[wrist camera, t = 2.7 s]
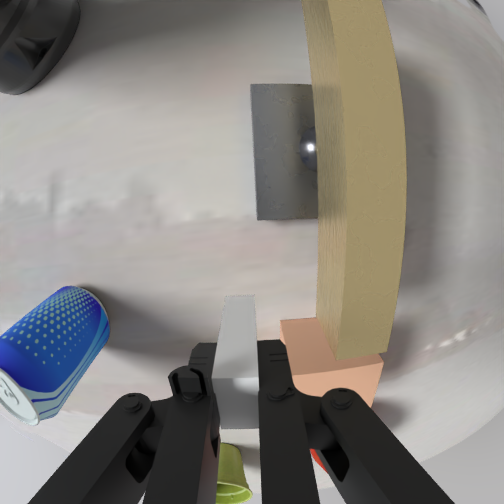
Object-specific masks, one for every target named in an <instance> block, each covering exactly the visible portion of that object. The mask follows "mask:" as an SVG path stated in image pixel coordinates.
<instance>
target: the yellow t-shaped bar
mask: <svg viewBox="0 0 504 504" xmlns="http://www.w3.org/2000/svg"><path fill="white" fill-rule="evenodd" d="M301 1H302V8H303V14H304V21H305V28H306V35H307V42H308V51H309V59H310V68H311V78H312V89H313V101H314V114H315V129H316V144H315V153H316V155H317V172H318V277H317V302H316V317H317V319H318V321H319V323H320V326H321V328H322V330H323V332H324V335H325V337H326V339H327V341H328V344H329V346H330V348H331V350H332V353H333V355H334V357H335V360H342V359H348V358H355V357H361V356H367V355H373V354H378V353H384V352H387V348H388V344H389V339H390V335H391V330H392V325H393V320H394V314H395V309H396V303H397V297H398V290H399V283H400V276H401V268H402V259H403V248H404V237H405V221H406V195H407V167H406V141H405V126H404V115H403V105H402V96H401V89H400V82H399V75H398V69H397V63H396V58H395V53H394V48H393V43H392V39H391V34H390V30H389V26H388V22H387V18H386V15H385V11H384V8H383V4H382V1H381V0H301Z"/></svg>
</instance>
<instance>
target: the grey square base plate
mask: <svg viewBox="0 0 504 504" xmlns="http://www.w3.org/2000/svg"><path fill="white" fill-rule="evenodd" d="M250 93H251V112H252V131H253V150H254V170H255V191H256V212H257V220H277V219H302V218H318V172H317V155H316V153H315V144H316V129H315V114H314V101H313V89H312V85H308V84H251V88H250Z"/></svg>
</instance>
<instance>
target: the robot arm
mask: <svg viewBox="0 0 504 504" xmlns="http://www.w3.org/2000/svg"><path fill="white" fill-rule="evenodd" d="M79 17H80V8H79V4H78V2H77V1H76V0H0V92H1V93H5V94H10V95H16V94H20V93H23V92H25V91H27V90H29V89H30V88H32V87H33V86H35V85H36V84H37V83H38V82H39V81H41V80H42V79H43V78H44V77H45V76H46V75H47V74H48V73H49V71H50V70H51V69H52V68H53V67H54V66H55V64H56V63H57V62H58V60H59V59H60V58H61V56H62V55H63V53H64V52H65V50H66V49H67V47H68V45H69V43H70V42H71V40H72V38H73V35H74V33H75V31H76V28H77V25H78V22H79ZM168 379H169V382H170V386H171V389H172V393H173V396H172V397H170V398H167V399H163V400H158V401H150V399H149V398H148V397H147V396H145V395H143V394H141V393H129V394H126V395H124V396H122V397H121V398H119V399H118V400H117V401H116V402H115V404H114V405H113V406H112V407H111V408H110V409H109V410H108V412H107V413H106V414H105V415H104V416H103V417H102V418H101V420H100V421H99V422H98V423H97V424H96V425H95V426H94V428H93V429H92V430H91V431H90V432H89V433H88V434H87V436H86V437H85V438H84V439H83V440H82V441H81V443H80V444H79V445H78V446H77V447H76V448H75V449H74V451H73V452H72V453H71V454H70V455H69V456H68V458H67V459H66V460H65V461H64V462H63V463H62V464H61V466H60V467H59V468H58V469H57V470H56V471H55V473H54V474H53V475H52V476H51V477H50V478H49V479H48V481H47V482H46V483H45V484H44V485H43V486H42V488H41V489H40V490H39V491H38V492H37V493H36V495H35V496H34V497H33V498H32V499H31V500H30V502H29V503H28V504H138V502H139V501H140V499H141V497H142V496H143V494H144V493H145V496H144V500H143V504H216V492H217V479H218V466H219V454H220V442H221V439H220V434H219V427H220V426H221V429H255V428H259V437H260V464H261V490H262V504H320V500H319V495H318V489H317V484H316V479H315V474H314V468H313V463H312V458H311V453H310V449H315V452H316V453H317V455H318V457H319V459H320V460H321V462H322V464H323V466H324V467H325V469H326V471H327V472H328V474H329V476H330V478H331V479H332V481H333V483H334V484H335V486H336V487H337V489H338V491H339V493H340V494H341V496H342V498H343V499H344V501H345V503H346V504H455V503H454V502H453V501H452V500H451V499H450V498H449V497H448V496H447V494H446V493H445V492H444V491H443V490H442V489H441V488H440V487H439V486H438V485H437V483H436V482H435V481H434V480H433V479H432V478H431V476H430V475H429V474H428V473H427V472H426V471H425V470H424V469H423V467H422V466H421V465H420V464H419V463H418V462H417V461H416V460H415V458H414V457H413V456H412V455H411V454H410V453H409V452H408V450H407V449H406V448H405V447H404V446H403V445H402V444H401V442H400V441H399V440H398V439H397V438H396V437H395V436H394V434H393V433H392V432H391V431H390V430H389V429H388V428H387V426H386V425H385V424H384V423H383V422H382V421H381V419H380V418H379V417H378V416H377V415H376V414H375V413H374V411H373V410H372V409H371V408H370V407H369V406H368V404H367V403H366V402H365V401H364V400H363V399H362V397H361V396H360V395H359V394H358V393H356V392H355V391H354V390H351V389H348V388H334V389H331V390H329V391H327V392H326V393H325V394H324V395H323V396H322V397H319V396H311V395H307V394H304V393H302V392H300V391H299V390H298V389H297V388H296V387H295V385H294V383H293V378H292V373H291V368H290V364H289V359H288V355H287V349H286V345H285V344H284V343H283V342H282V341H281V340H280V339H278V340H261V341H257V335H256V315H255V295H238V296H226V297H225V303H224V308H223V314H222V320H221V325H220V331H219V337H218V343H199V344H198V345H197V346H196V347H195V348H194V349H193V350H192V353H191V357H190V360H189V365H188V366H182V367H179V368H176V369H175V370H174V371H172V372H171V373H170V374H169V376H168ZM145 491H146V492H145Z"/></svg>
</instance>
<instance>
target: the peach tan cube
mask: <svg viewBox="0 0 504 504" xmlns="http://www.w3.org/2000/svg"><path fill="white" fill-rule="evenodd" d="M280 340H281V341H282V342H283V343H284V344H285V345H286V349H287V355H288V359H289V364H290V368H291V373H292V378H293V383H294V385H295V387H296V388H297V389H298V390H299V391H300V392H302V393H304V394H307V395H311V396H319V397H322V396H323V395H324V394H325V393H326V392H327V391H329V390H331V389H334V388H348V389H351V390H354V391H355V392H356V393H358V394H359V395H360V396H361V397H362V399H363V400H364V401H365V402H366V403H367V404H368V406H369V407H370V408H371V406H372V403H373V400H374V396H375V393H376V390H377V386H378V383H379V379H380V376H381V372H382V368H383V364H384V361H383V360H382V358H381V357H380V355H379V354H373V355H367V356H361V357H355V358H348V359H342V360H335V357H334V355H333V353H332V350H331V348H330V346H329V344H328V341H327V339H326V337H325V335H324V332H323V330H322V328H321V326H320V323H319V321H318V319H317V318H306V319H293V320H280Z"/></svg>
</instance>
